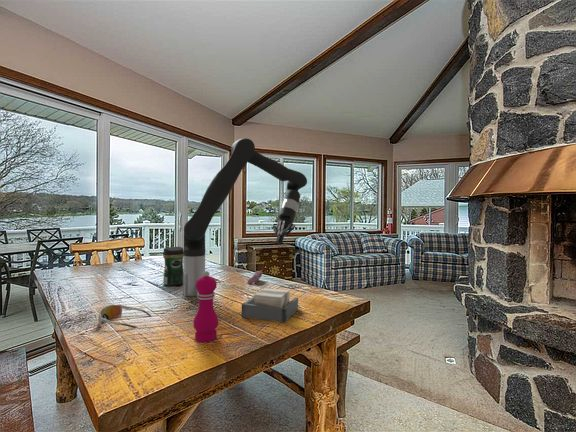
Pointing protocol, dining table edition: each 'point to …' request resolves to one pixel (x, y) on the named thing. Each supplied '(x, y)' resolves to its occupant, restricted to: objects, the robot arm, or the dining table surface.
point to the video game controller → (255, 277)
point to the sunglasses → (115, 314)
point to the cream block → (272, 297)
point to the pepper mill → (206, 309)
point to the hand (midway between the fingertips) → (278, 243)
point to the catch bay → (269, 311)
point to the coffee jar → (173, 266)
